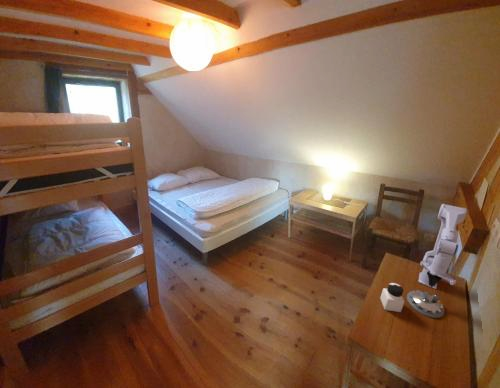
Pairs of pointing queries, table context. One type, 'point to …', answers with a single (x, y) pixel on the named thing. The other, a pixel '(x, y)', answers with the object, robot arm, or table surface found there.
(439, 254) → the robot arm
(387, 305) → the medicine bottle
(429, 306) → the sprocket
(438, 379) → the table surface
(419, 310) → the sprocket base
